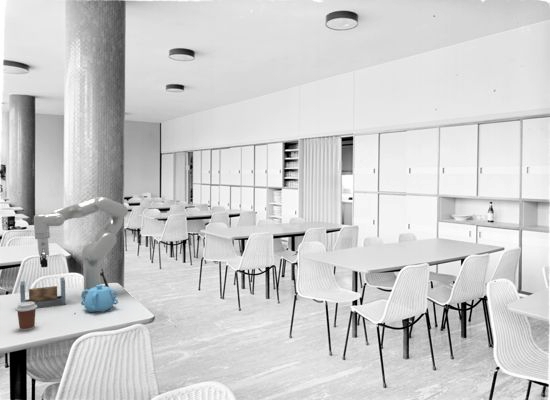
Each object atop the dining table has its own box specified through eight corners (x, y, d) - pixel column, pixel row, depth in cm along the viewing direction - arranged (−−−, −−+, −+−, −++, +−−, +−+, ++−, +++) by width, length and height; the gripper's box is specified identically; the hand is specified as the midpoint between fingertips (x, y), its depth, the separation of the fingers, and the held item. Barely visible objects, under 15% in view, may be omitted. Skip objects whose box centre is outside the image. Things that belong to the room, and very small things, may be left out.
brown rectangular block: (57, 301, 256) (56, 286, 255) (57, 302, 253) (57, 287, 252) (29, 304, 249) (28, 288, 248) (29, 306, 246) (28, 290, 246)
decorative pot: (79, 309, 245) (78, 285, 244) (107, 303, 256) (107, 280, 255) (90, 316, 233) (89, 290, 232) (120, 309, 244) (119, 285, 243)
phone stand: (108, 285, 295) (108, 268, 294) (108, 288, 290) (108, 269, 289) (93, 287, 292) (93, 269, 291) (93, 289, 286) (93, 271, 285)
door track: (64, 300, 260) (64, 277, 259) (65, 304, 252) (65, 280, 251) (21, 306, 250) (20, 281, 249) (21, 310, 242) (20, 285, 241)
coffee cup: (35, 323, 221) (34, 299, 220) (39, 328, 214) (39, 303, 214) (14, 327, 215) (13, 303, 214) (18, 332, 208) (17, 307, 208)
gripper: (50, 237, 247) (52, 267, 249) (48, 233, 262) (50, 262, 263) (35, 238, 243) (37, 269, 245) (34, 234, 258) (35, 263, 260)
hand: (43, 265), depth 254 cm, fingers open, 9 cm apart
